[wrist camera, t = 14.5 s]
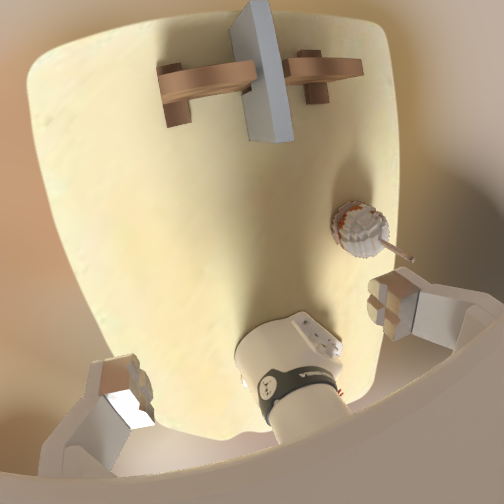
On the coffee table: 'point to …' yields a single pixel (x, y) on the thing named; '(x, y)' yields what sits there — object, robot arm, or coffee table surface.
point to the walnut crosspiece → (248, 80)
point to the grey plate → (262, 74)
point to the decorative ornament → (363, 231)
